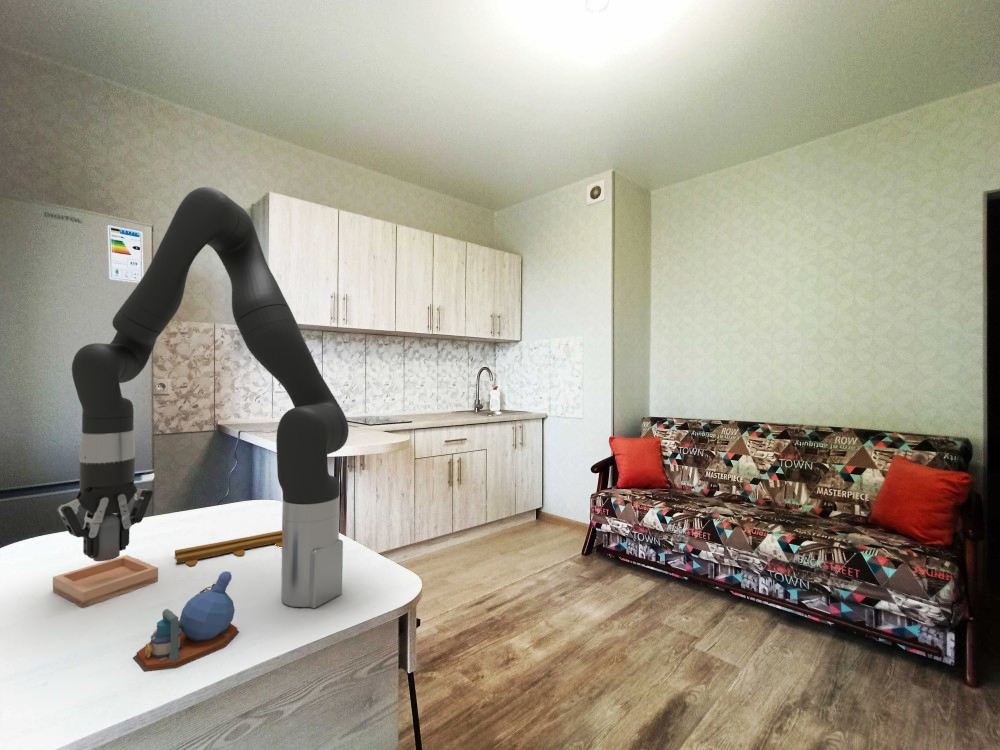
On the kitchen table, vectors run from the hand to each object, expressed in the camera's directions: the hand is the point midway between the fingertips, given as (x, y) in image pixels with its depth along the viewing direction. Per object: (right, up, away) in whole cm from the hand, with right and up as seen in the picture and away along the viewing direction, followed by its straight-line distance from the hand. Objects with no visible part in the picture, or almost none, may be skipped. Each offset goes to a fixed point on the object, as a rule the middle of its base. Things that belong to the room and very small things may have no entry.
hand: (107, 552), depth 85 cm
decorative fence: (+14, -7, +19) cm, 25 cm away
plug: (0, -1, 0) cm, 1 cm away
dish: (0, -6, 0) cm, 6 cm away
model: (+25, -7, -16) cm, 31 cm away
